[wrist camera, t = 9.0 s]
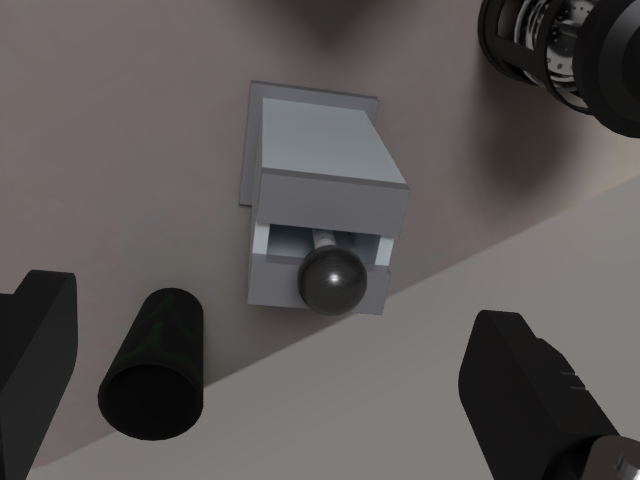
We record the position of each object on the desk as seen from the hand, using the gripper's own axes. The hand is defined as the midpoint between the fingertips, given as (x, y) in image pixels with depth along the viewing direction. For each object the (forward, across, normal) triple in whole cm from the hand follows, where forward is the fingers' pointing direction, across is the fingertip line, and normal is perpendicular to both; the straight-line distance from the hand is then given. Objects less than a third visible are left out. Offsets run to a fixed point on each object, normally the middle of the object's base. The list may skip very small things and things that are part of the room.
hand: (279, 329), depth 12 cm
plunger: (+32, -4, +8) cm, 33 cm away
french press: (+38, -20, -5) cm, 43 cm away
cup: (+38, +6, +25) cm, 46 cm away
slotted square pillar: (+38, -4, +8) cm, 39 cm away
